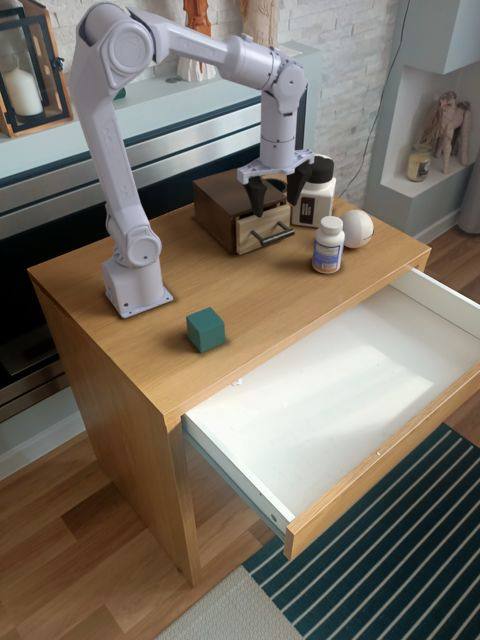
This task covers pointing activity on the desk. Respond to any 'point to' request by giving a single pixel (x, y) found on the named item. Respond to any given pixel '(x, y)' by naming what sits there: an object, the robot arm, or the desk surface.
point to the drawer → (262, 228)
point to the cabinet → (226, 204)
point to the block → (205, 329)
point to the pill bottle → (328, 245)
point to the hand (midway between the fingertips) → (274, 209)
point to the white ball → (356, 228)
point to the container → (316, 194)
